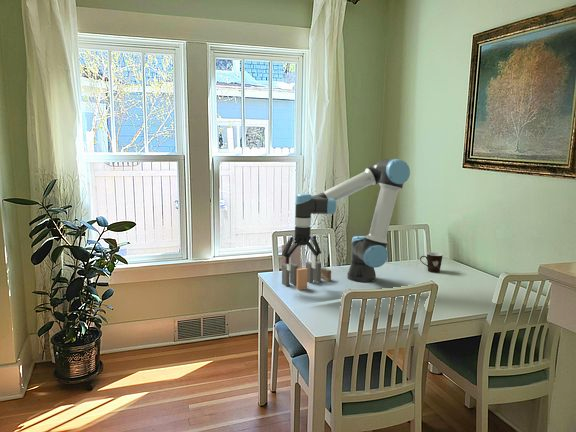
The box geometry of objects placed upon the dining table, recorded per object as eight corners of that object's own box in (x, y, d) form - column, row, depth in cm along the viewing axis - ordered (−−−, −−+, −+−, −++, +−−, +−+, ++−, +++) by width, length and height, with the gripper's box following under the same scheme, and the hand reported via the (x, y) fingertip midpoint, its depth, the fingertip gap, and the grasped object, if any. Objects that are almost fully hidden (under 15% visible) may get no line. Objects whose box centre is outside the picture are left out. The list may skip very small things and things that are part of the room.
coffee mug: (443, 270, 250) (444, 253, 248) (439, 274, 243) (440, 256, 241) (422, 267, 256) (423, 251, 255) (418, 270, 249) (419, 253, 247)
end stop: (324, 277, 232) (324, 266, 231) (330, 281, 226) (331, 270, 225) (320, 278, 231) (321, 267, 231) (327, 281, 225) (327, 270, 224)
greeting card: (299, 269, 249) (300, 243, 247) (305, 272, 243) (305, 246, 241) (281, 271, 245) (281, 244, 243) (286, 274, 238) (286, 247, 236)
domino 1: (285, 283, 221) (285, 264, 220) (289, 286, 217) (289, 266, 216) (281, 283, 221) (282, 264, 219) (286, 286, 216) (286, 266, 215)
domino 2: (293, 282, 223) (293, 263, 222) (297, 284, 219) (297, 265, 217) (289, 282, 223) (290, 263, 221) (294, 285, 218) (294, 265, 217)
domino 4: (316, 279, 229) (316, 260, 228) (320, 281, 225) (321, 263, 223) (313, 279, 228) (313, 261, 227) (317, 282, 224) (318, 263, 222)
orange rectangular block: (296, 288, 212) (296, 268, 211) (305, 287, 215) (305, 267, 213) (298, 289, 211) (298, 269, 209) (307, 288, 213) (307, 268, 212)
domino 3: (308, 280, 227) (308, 261, 226) (313, 282, 223) (313, 263, 221) (305, 280, 226) (305, 262, 225) (310, 283, 222) (310, 264, 221)
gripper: (321, 223, 217) (319, 265, 220) (275, 225, 206) (274, 269, 209) (329, 226, 210) (327, 268, 213) (282, 228, 200) (281, 273, 203)
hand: (301, 269), depth 211 cm, fingers open, 13 cm apart
